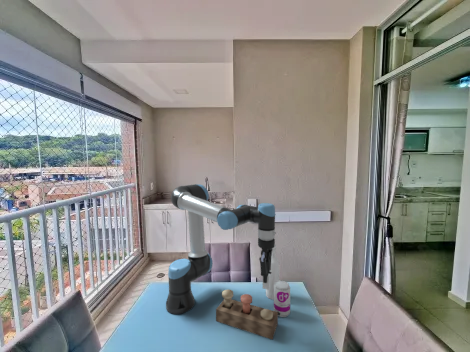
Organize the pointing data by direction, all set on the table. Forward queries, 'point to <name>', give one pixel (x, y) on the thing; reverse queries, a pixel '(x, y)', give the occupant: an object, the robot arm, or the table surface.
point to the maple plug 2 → (266, 314)
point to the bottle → (273, 274)
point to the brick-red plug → (246, 303)
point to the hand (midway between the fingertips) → (265, 288)
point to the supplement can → (282, 298)
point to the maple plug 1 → (227, 298)
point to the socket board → (247, 319)
